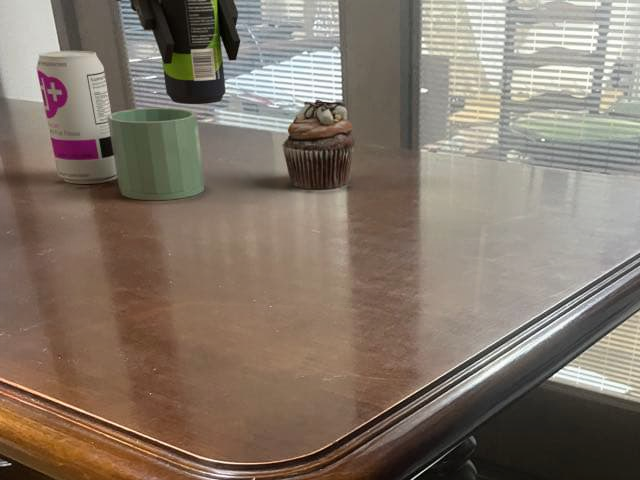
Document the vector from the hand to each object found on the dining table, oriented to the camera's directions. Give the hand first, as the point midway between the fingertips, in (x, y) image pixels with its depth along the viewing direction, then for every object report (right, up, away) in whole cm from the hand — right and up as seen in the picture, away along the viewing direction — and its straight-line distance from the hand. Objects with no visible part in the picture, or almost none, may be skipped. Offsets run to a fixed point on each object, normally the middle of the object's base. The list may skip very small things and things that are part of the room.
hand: (202, 52), depth 89 cm
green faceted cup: (-11, -4, +26) cm, 28 cm away
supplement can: (-23, 0, +31) cm, 38 cm away
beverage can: (-2, -2, +6) cm, 6 cm away
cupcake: (+9, -1, +30) cm, 31 cm away
